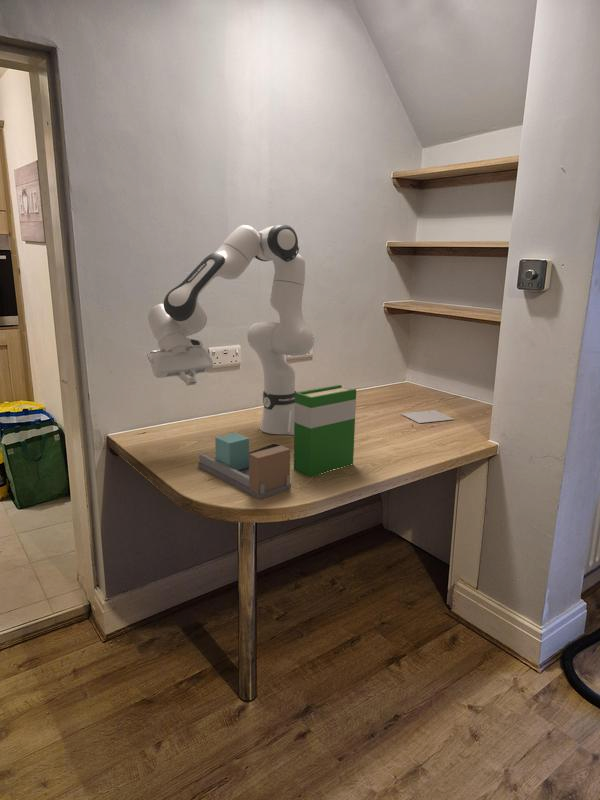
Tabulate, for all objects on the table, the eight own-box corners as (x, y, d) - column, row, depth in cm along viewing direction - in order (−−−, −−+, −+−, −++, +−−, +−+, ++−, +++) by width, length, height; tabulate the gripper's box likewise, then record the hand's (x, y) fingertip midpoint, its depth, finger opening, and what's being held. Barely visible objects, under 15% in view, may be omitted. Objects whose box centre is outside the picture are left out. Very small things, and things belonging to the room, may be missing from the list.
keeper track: (228, 459, 180) (227, 424, 177) (290, 488, 159) (291, 449, 156) (198, 467, 173) (197, 430, 170) (259, 499, 152) (259, 458, 149)
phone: (291, 448, 189) (260, 460, 177) (291, 452, 189) (260, 464, 178) (274, 443, 193) (242, 454, 182) (274, 446, 194) (242, 458, 183)
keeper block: (235, 460, 174) (234, 432, 172) (249, 467, 169) (249, 438, 167) (215, 466, 169) (215, 437, 167) (229, 473, 164) (229, 443, 162)
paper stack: (470, 427, 219) (470, 425, 219) (413, 434, 210) (414, 432, 209) (434, 411, 240) (434, 410, 240) (382, 416, 231) (382, 415, 230)
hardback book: (336, 457, 183) (339, 384, 177) (353, 464, 178) (356, 389, 172) (293, 469, 173) (294, 392, 166) (309, 477, 167) (311, 397, 161)
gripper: (148, 345, 174) (165, 382, 170) (205, 340, 188) (222, 375, 183) (142, 357, 179) (158, 394, 174) (198, 352, 192) (215, 386, 187)
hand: (191, 384), depth 179 cm, fingers closed
